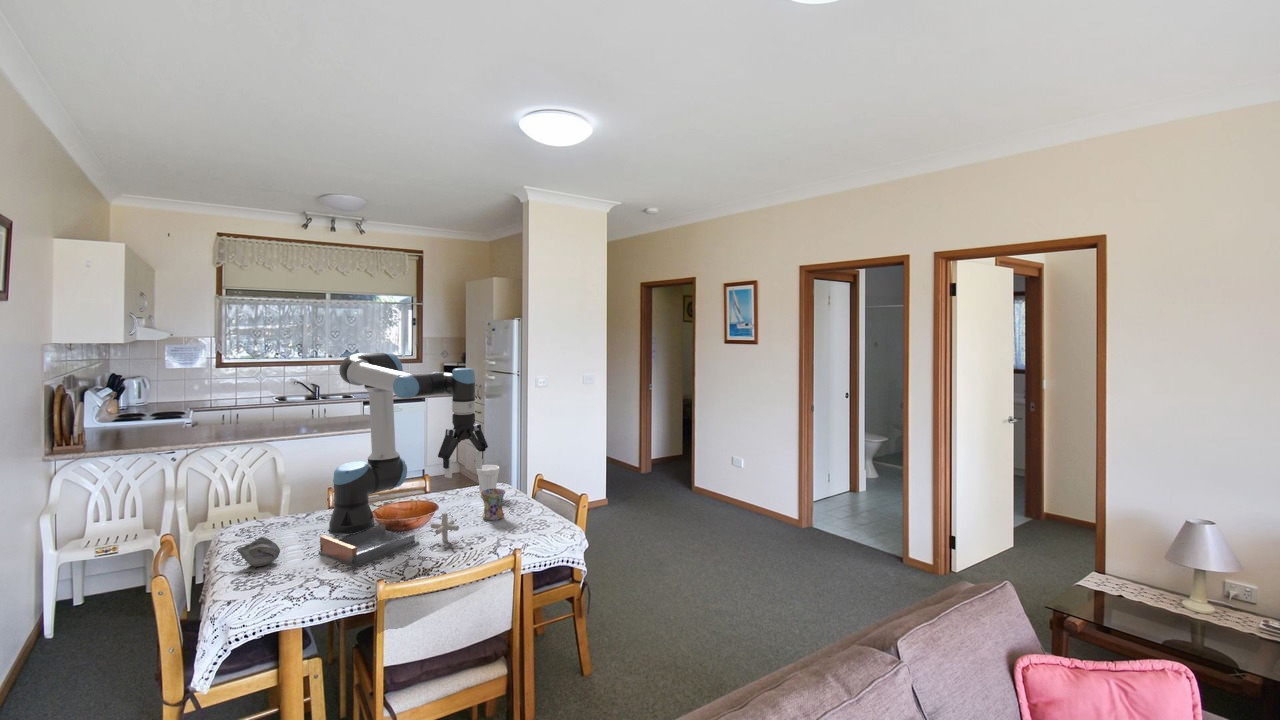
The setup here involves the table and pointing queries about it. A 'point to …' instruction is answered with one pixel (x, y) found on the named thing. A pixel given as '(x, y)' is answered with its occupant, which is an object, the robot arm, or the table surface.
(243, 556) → the fossil
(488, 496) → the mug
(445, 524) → the pipe connector
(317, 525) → the table surface
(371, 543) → the guide channel
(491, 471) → the cup
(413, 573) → the table surface
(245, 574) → the table surface
